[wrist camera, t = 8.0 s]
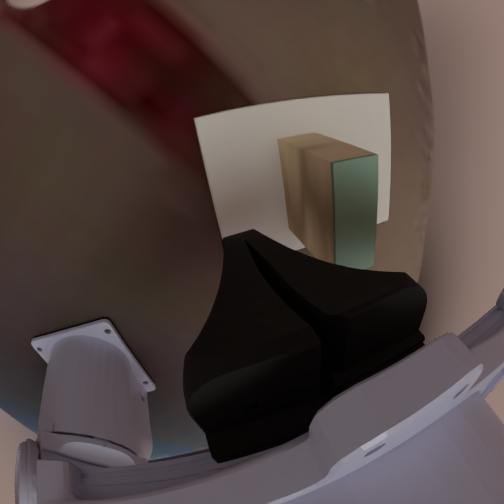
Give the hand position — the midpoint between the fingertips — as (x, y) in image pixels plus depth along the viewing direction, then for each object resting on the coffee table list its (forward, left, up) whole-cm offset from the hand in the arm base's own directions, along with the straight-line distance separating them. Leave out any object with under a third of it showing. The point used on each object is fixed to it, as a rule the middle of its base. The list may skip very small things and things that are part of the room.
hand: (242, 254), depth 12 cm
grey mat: (0, -6, -7) cm, 9 cm away
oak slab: (0, -5, -6) cm, 8 cm away
